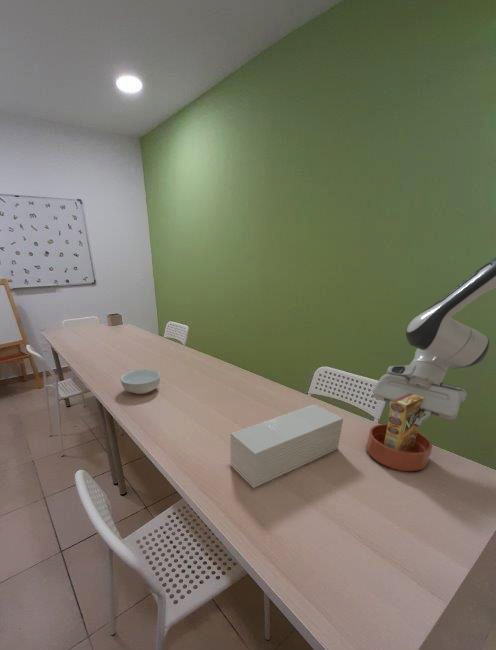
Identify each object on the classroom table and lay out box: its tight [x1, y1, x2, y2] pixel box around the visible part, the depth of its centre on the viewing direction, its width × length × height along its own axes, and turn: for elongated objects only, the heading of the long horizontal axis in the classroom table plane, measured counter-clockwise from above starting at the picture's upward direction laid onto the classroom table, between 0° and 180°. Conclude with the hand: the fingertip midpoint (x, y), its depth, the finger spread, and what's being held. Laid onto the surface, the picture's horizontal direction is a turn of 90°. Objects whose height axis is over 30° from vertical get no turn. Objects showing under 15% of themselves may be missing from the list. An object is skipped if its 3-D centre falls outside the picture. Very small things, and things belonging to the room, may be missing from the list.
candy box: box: [384, 394, 425, 452], centre depth 83 cm, size 9×4×15 cm, turn 120°
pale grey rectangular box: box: [229, 403, 344, 489], centre depth 86 cm, size 32×11×11 cm, turn 120°
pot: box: [365, 423, 433, 472], centre depth 86 cm, size 15×15×6 cm
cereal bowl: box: [120, 368, 161, 395], centre depth 133 cm, size 17×17×7 cm
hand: (403, 421), depth 82 cm, fingers closed on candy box, 5 cm apart
